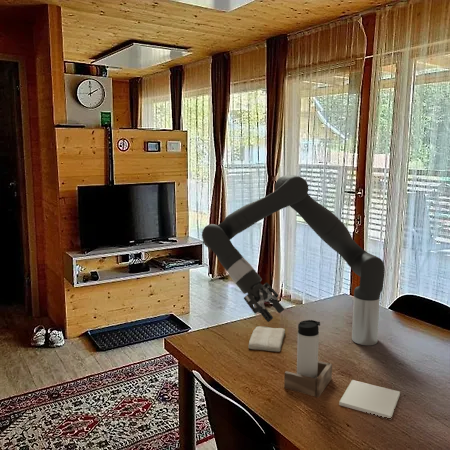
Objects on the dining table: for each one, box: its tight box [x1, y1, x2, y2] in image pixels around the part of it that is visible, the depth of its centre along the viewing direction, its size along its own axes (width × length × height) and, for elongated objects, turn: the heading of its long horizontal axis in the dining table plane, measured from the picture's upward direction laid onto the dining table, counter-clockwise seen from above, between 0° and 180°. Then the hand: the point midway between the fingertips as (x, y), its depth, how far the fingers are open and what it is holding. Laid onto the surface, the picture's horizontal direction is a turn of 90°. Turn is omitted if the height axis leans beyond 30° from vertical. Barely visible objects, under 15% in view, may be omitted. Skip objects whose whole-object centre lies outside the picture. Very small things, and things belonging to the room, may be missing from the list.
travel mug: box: [296, 319, 321, 379], centre depth 139 cm, size 6×7×20 cm
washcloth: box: [248, 325, 286, 353], centre depth 171 cm, size 12×18×3 cm, turn 167°
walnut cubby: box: [283, 360, 333, 398], centre depth 140 cm, size 12×11×5 cm
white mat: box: [338, 379, 401, 419], centre depth 131 cm, size 14×14×1 cm
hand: (276, 315), depth 142 cm, fingers open, 8 cm apart
